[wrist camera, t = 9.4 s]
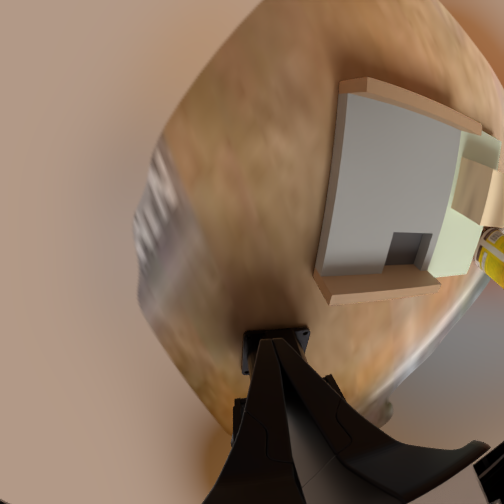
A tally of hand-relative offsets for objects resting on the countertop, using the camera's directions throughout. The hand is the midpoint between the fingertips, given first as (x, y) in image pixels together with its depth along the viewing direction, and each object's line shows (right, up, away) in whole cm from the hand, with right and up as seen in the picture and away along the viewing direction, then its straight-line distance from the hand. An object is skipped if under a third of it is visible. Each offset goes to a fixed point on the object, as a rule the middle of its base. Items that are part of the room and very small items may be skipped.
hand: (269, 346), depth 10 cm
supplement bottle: (+29, +4, +16) cm, 33 cm away
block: (+21, +10, +10) cm, 26 cm away
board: (+15, +8, +11) cm, 21 cm away
